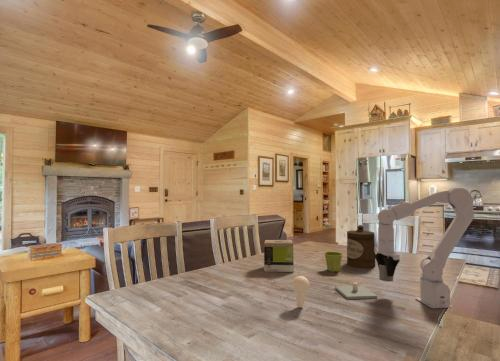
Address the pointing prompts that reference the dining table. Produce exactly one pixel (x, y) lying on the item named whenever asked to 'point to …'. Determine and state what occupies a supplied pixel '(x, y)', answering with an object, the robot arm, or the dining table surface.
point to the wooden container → (360, 248)
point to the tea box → (278, 256)
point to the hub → (384, 273)
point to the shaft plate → (355, 292)
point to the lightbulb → (300, 289)
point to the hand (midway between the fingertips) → (386, 274)
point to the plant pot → (333, 261)
